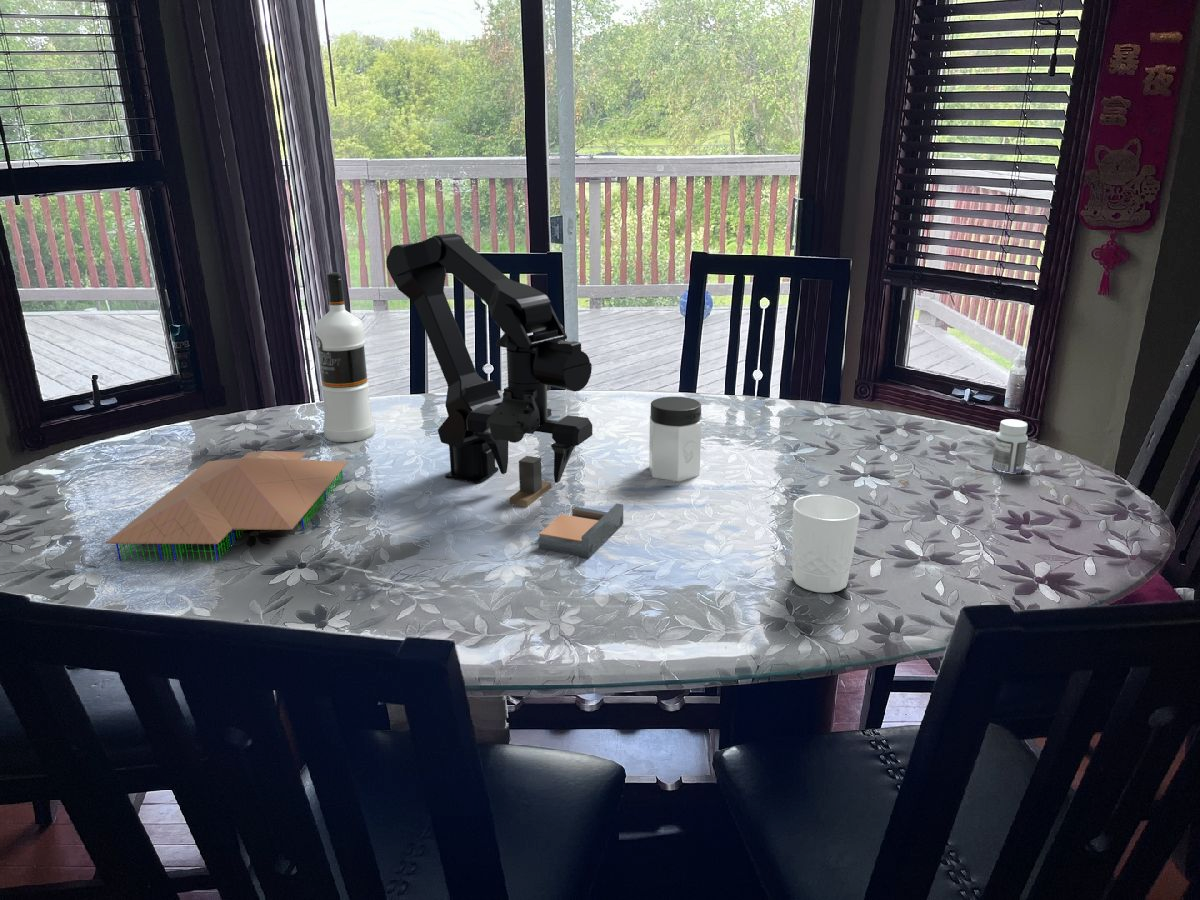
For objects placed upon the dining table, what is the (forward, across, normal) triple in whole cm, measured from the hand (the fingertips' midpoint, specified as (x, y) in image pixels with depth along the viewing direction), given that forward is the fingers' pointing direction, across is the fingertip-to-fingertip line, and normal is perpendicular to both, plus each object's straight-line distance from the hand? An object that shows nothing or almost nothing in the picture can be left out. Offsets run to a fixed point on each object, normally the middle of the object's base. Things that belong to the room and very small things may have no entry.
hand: (530, 477), depth 136 cm
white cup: (+3, +46, -10) cm, 47 cm away
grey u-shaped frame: (+3, +13, -10) cm, 17 cm away
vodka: (+3, -44, +12) cm, 46 cm away
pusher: (+3, 0, 0) cm, 3 cm away
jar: (+3, +17, +18) cm, 25 cm away
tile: (+4, +12, -10) cm, 16 cm away
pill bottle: (+3, +67, +40) cm, 78 cm away
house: (+4, -36, -22) cm, 42 cm away
